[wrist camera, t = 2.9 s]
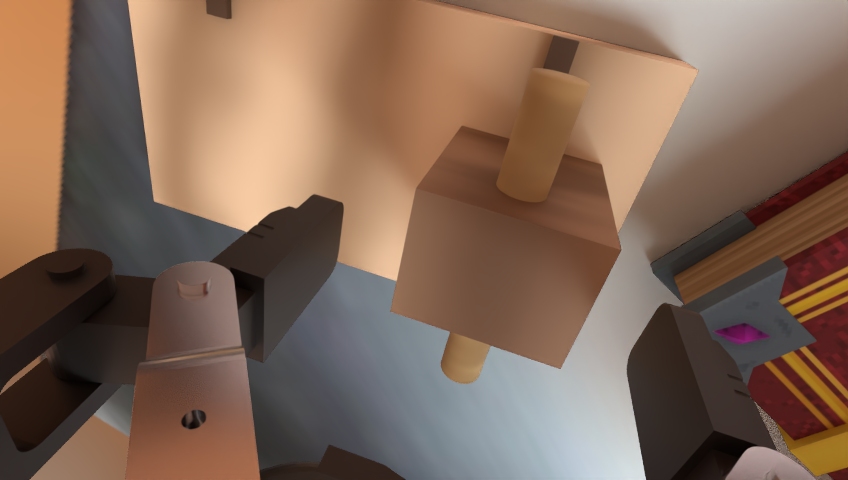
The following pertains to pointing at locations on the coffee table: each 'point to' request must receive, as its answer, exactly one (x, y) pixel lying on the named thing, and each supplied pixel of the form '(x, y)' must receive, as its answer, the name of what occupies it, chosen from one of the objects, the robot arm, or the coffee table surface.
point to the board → (368, 105)
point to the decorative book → (781, 308)
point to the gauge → (510, 236)
